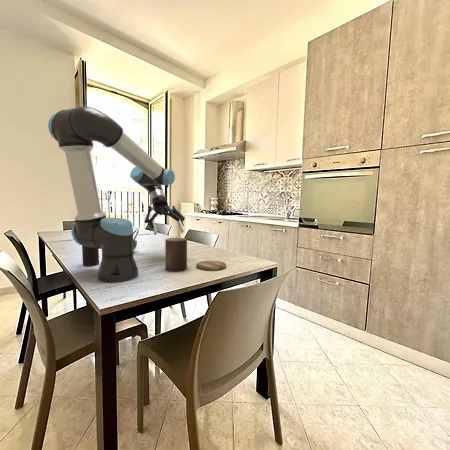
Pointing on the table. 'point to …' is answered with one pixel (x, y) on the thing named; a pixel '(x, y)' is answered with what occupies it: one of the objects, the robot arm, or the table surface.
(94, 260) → the bottle
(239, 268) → the table surface
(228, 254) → the table surface
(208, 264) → the trivet
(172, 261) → the pillar candle
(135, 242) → the mortar and pestle
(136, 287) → the table surface
